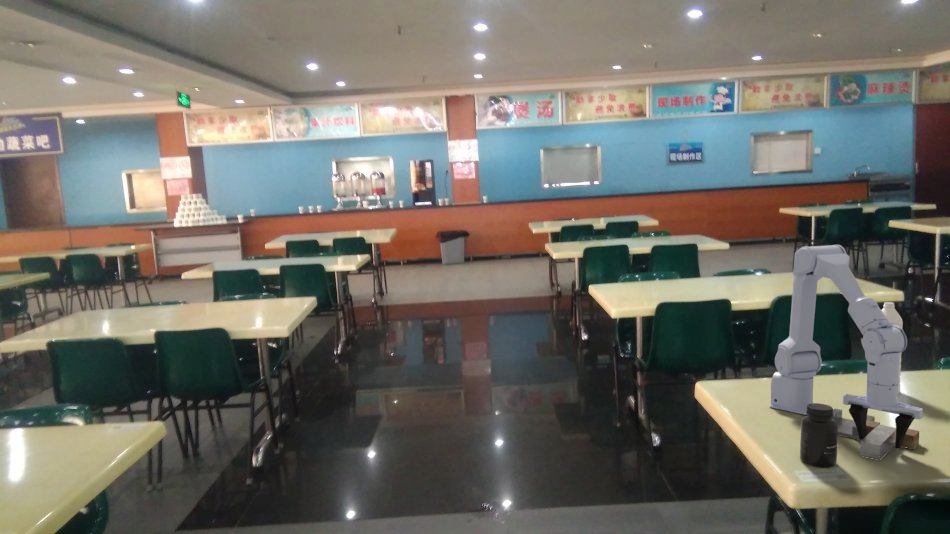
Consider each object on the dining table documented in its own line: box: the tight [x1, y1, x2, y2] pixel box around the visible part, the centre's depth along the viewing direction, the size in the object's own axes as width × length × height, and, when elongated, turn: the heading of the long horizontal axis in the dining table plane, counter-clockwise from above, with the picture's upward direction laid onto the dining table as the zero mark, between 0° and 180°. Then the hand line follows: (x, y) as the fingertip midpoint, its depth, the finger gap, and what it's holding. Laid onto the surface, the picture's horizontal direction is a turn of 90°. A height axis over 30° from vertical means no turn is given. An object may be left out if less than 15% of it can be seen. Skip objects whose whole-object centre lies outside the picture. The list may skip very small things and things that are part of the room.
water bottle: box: [881, 301, 904, 395], centre depth 174 cm, size 9×6×25 cm
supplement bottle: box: [799, 402, 839, 469], centre depth 132 cm, size 7×7×12 cm
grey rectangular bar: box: [859, 424, 896, 461], centre depth 138 cm, size 4×13×4 cm, turn 133°
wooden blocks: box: [866, 420, 920, 450], centre depth 142 cm, size 10×4×3 cm, turn 42°
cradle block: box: [832, 408, 876, 441], centre depth 149 cm, size 9×10×3 cm
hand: (880, 442), depth 138 cm, fingers open, 6 cm apart
